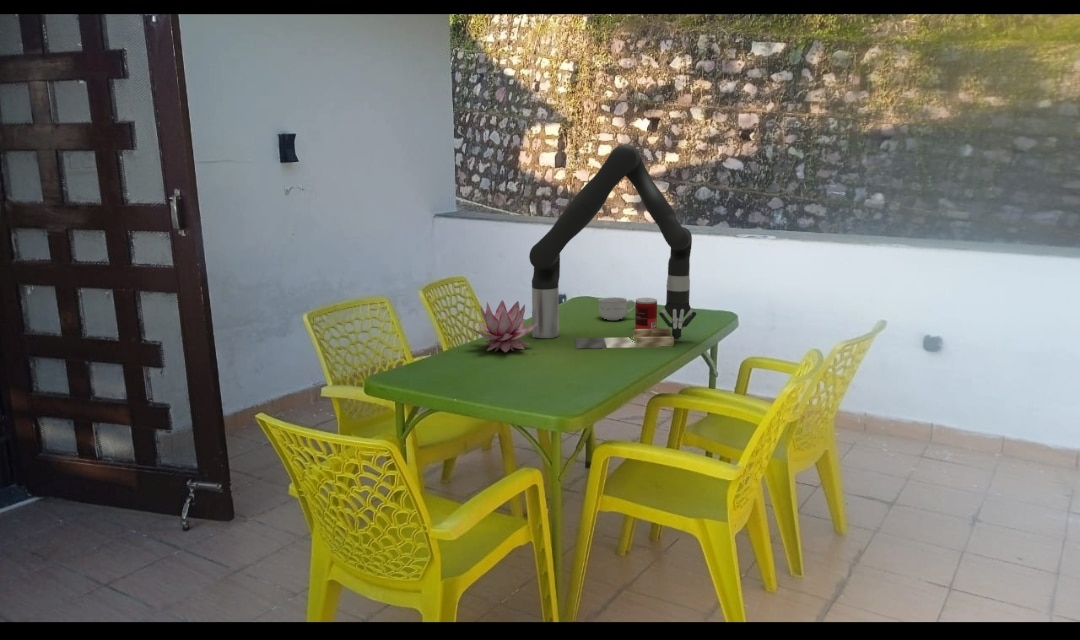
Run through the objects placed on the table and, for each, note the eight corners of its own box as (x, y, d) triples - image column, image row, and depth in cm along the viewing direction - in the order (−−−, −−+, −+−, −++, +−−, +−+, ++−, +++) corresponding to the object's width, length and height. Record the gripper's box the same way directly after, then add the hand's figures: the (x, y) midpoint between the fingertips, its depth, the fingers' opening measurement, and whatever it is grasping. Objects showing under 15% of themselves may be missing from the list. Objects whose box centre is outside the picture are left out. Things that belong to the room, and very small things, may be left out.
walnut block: (652, 344, 269) (652, 332, 268) (650, 339, 275) (650, 328, 274) (670, 344, 269) (670, 332, 268) (667, 339, 275) (668, 328, 274)
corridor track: (576, 349, 266) (576, 339, 265) (574, 339, 278) (574, 329, 278) (673, 348, 266) (674, 337, 265) (667, 338, 278) (668, 328, 278)
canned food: (656, 327, 294) (656, 297, 292) (657, 332, 286) (657, 302, 284) (634, 327, 295) (635, 297, 292) (635, 332, 287) (635, 302, 285)
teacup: (595, 321, 304) (595, 300, 302) (601, 315, 314) (601, 295, 312) (632, 323, 300) (632, 302, 298) (637, 317, 310) (637, 296, 308)
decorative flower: (528, 359, 255) (527, 312, 251) (463, 356, 259) (461, 310, 255) (541, 342, 275) (541, 298, 272) (481, 339, 279) (479, 297, 276)
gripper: (659, 290, 264) (658, 341, 268) (700, 290, 264) (698, 341, 268) (656, 286, 271) (655, 336, 275) (696, 285, 271) (694, 336, 275)
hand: (676, 338), depth 272 cm, fingers closed
